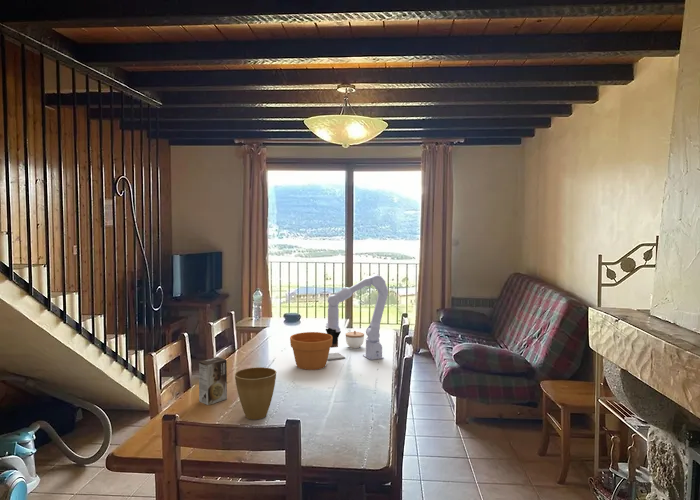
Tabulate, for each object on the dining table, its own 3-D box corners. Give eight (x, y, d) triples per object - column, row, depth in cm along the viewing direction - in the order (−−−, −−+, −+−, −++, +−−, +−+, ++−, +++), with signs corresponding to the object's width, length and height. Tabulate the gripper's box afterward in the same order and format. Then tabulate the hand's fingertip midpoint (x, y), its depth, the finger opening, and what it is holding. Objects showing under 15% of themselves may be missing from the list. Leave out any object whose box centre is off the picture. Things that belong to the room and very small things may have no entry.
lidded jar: (364, 349, 277) (364, 333, 276) (345, 349, 277) (345, 332, 277) (363, 345, 288) (364, 329, 287) (345, 344, 288) (345, 328, 287)
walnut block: (337, 346, 258) (337, 337, 258) (330, 347, 257) (331, 338, 256) (334, 345, 262) (334, 335, 262) (328, 345, 260) (328, 336, 260)
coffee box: (217, 395, 199) (217, 356, 199) (227, 399, 195) (227, 359, 195) (198, 401, 192) (198, 361, 192) (207, 405, 188) (207, 364, 187)
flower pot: (326, 373, 231) (326, 342, 230) (284, 370, 235) (284, 340, 234) (336, 361, 251) (336, 333, 251) (297, 359, 256) (297, 331, 255)
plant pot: (278, 408, 186) (278, 366, 185) (273, 423, 171) (273, 378, 171) (239, 408, 186) (239, 366, 185) (230, 424, 171) (230, 378, 170)
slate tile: (345, 358, 257) (345, 357, 257) (327, 360, 253) (327, 359, 253) (338, 354, 266) (338, 352, 266) (320, 355, 262) (320, 354, 262)
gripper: (321, 315, 264) (321, 340, 264) (331, 320, 250) (331, 346, 251) (333, 314, 266) (333, 339, 267) (343, 319, 253) (343, 345, 254)
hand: (332, 342), depth 259 cm, fingers closed on walnut block, 4 cm apart
